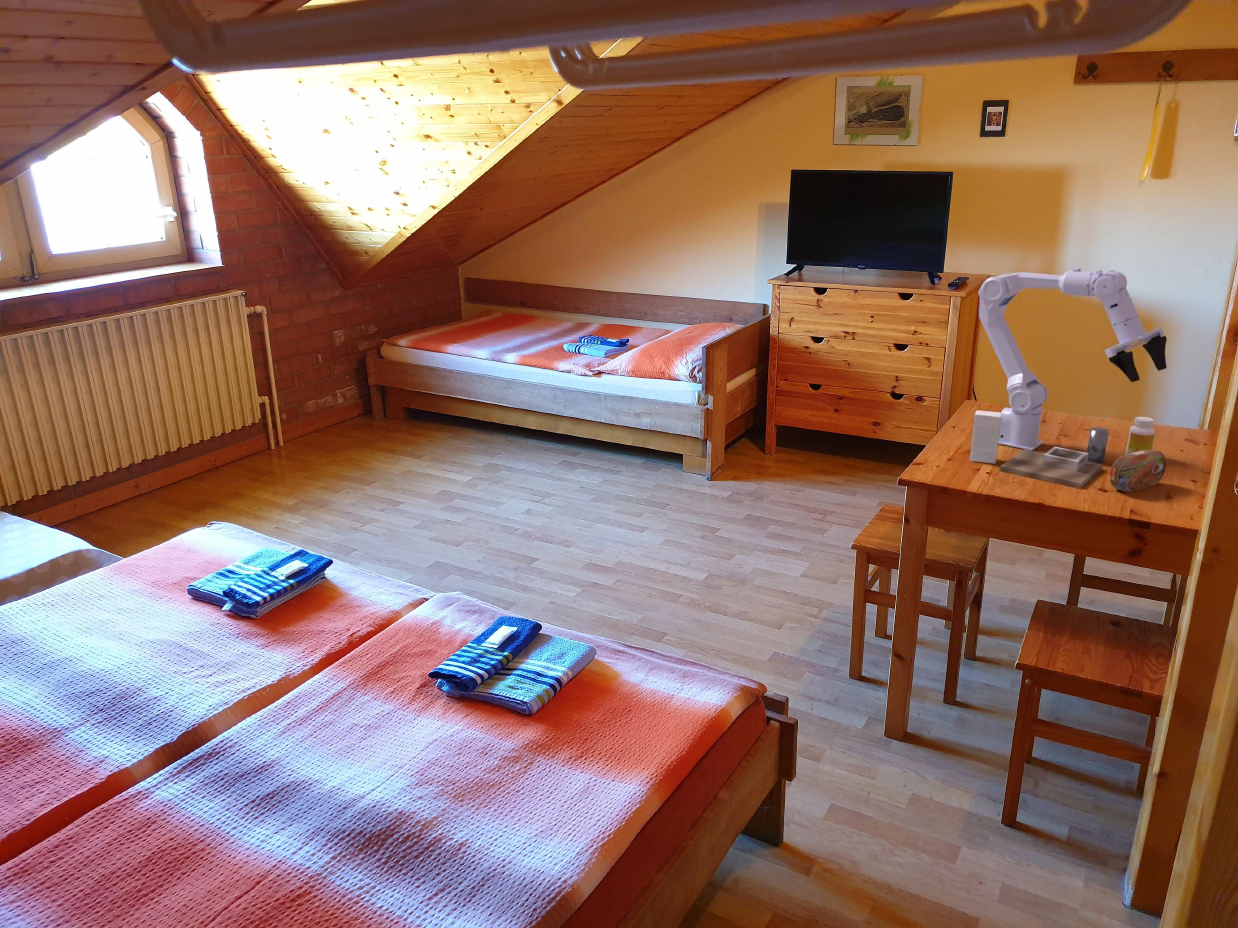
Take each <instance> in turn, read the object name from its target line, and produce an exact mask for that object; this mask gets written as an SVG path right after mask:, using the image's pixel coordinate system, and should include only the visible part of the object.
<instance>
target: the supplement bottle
mask: <svg viewBox="0 0 1238 928" xmlns="http://www.w3.org/2000/svg"><path fill="white" fill-rule="evenodd" d="M1154 421H1155V420H1154V418H1150V417H1148V416H1147V417H1146V416H1135V418H1134V425H1132V426H1130V428H1129V433H1128V437H1127V441H1126V447H1125V454H1129V453H1134V452H1138V451H1142V450H1153V449H1152V448H1153V445H1154V438H1155V433H1156V432H1155V431H1156V430H1155V428H1154V427H1153V426H1154ZM1125 454H1124V455H1125Z"/></svg>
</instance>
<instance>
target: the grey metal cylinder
mask: <svg viewBox="0 0 1238 928" xmlns="http://www.w3.org/2000/svg"><path fill="white" fill-rule="evenodd" d="M1109 434H1110V430H1109V429H1107V428H1105V427H1104V428H1103V427H1091V428H1090V430H1089V434H1088V435H1089V436H1088V437H1089V438H1088V442H1087V447H1086V449H1087V450H1086V453H1088V457H1087V462H1092V463H1097V464H1102V465H1103V464H1104V462H1105V456H1106V451H1107V445H1108V440H1109V436H1110V435H1109Z"/></svg>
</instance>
